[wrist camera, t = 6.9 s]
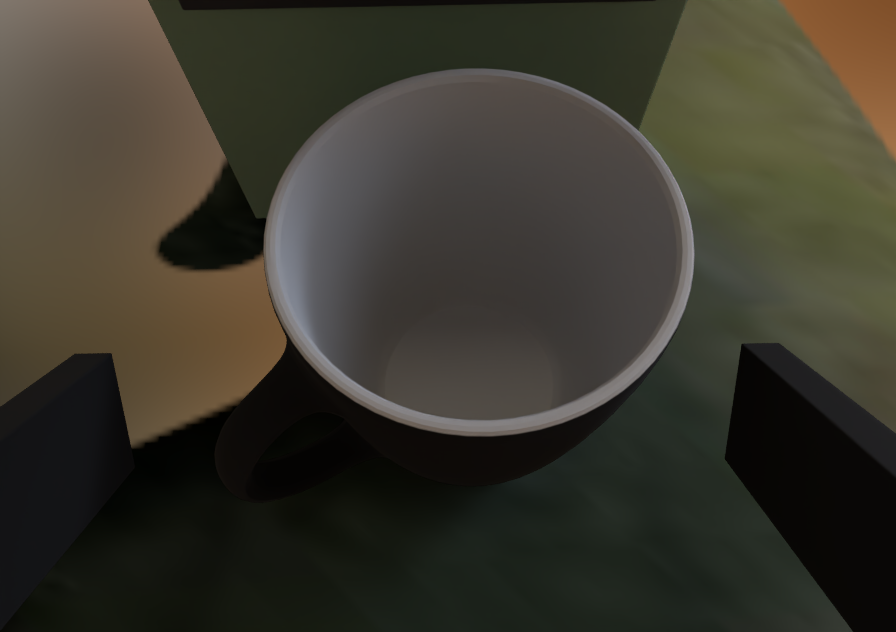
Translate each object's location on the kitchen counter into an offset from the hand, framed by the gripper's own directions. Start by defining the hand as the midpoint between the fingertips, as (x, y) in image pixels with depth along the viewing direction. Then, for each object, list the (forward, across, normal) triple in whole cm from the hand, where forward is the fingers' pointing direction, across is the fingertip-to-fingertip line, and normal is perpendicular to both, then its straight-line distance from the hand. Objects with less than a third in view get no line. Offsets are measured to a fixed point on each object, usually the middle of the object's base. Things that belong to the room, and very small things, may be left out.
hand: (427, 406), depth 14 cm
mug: (+8, 0, -4) cm, 9 cm away
